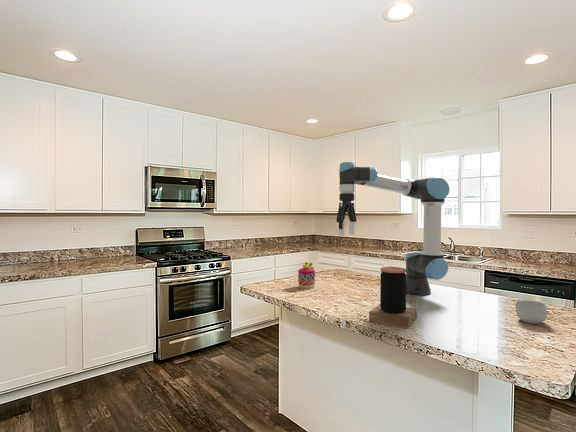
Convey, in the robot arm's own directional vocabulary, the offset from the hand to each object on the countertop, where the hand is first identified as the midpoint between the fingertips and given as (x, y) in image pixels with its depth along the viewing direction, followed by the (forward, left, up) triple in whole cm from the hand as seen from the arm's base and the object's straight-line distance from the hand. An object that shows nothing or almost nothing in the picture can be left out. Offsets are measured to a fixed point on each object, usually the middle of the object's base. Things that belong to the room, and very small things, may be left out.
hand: (346, 235), depth 169 cm
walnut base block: (-2, +30, -35) cm, 46 cm away
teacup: (-53, +58, -35) cm, 86 cm away
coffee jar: (-2, +30, -31) cm, 43 cm away
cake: (0, -40, -35) cm, 53 cm away
